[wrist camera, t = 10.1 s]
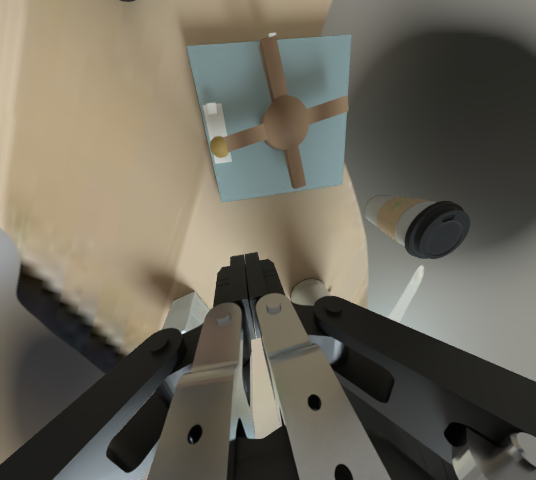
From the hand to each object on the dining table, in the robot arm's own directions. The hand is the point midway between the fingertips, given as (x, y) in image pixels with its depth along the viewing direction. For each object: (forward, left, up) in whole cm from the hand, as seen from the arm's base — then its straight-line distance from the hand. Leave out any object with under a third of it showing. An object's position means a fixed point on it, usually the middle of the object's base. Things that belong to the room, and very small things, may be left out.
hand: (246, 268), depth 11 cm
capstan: (+8, -7, -23) cm, 26 cm away
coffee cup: (-9, -29, -27) cm, 40 cm away
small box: (-26, +15, -27) cm, 40 cm away
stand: (+8, -8, -27) cm, 29 cm away
